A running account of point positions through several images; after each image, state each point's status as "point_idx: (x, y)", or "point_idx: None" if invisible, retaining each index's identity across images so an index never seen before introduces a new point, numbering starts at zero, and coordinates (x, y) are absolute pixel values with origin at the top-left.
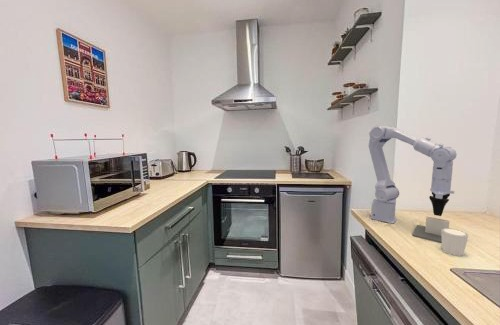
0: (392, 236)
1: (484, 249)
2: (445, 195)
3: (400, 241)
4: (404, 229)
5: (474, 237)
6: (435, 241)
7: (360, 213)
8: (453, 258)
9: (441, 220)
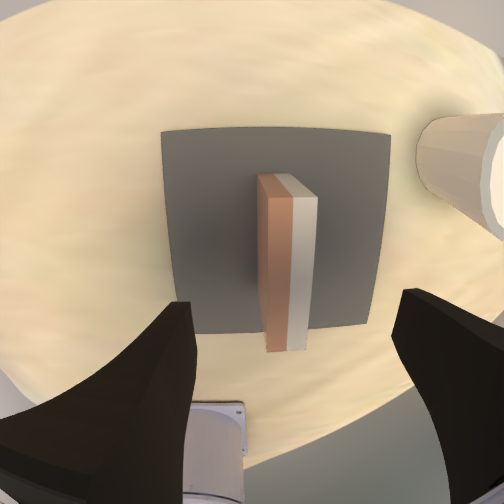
0: None
1: (325, 17)
2: (132, 497)
3: None
4: (289, 359)
5: (142, 52)
6: (380, 225)
7: None
8: None
9: (307, 256)
